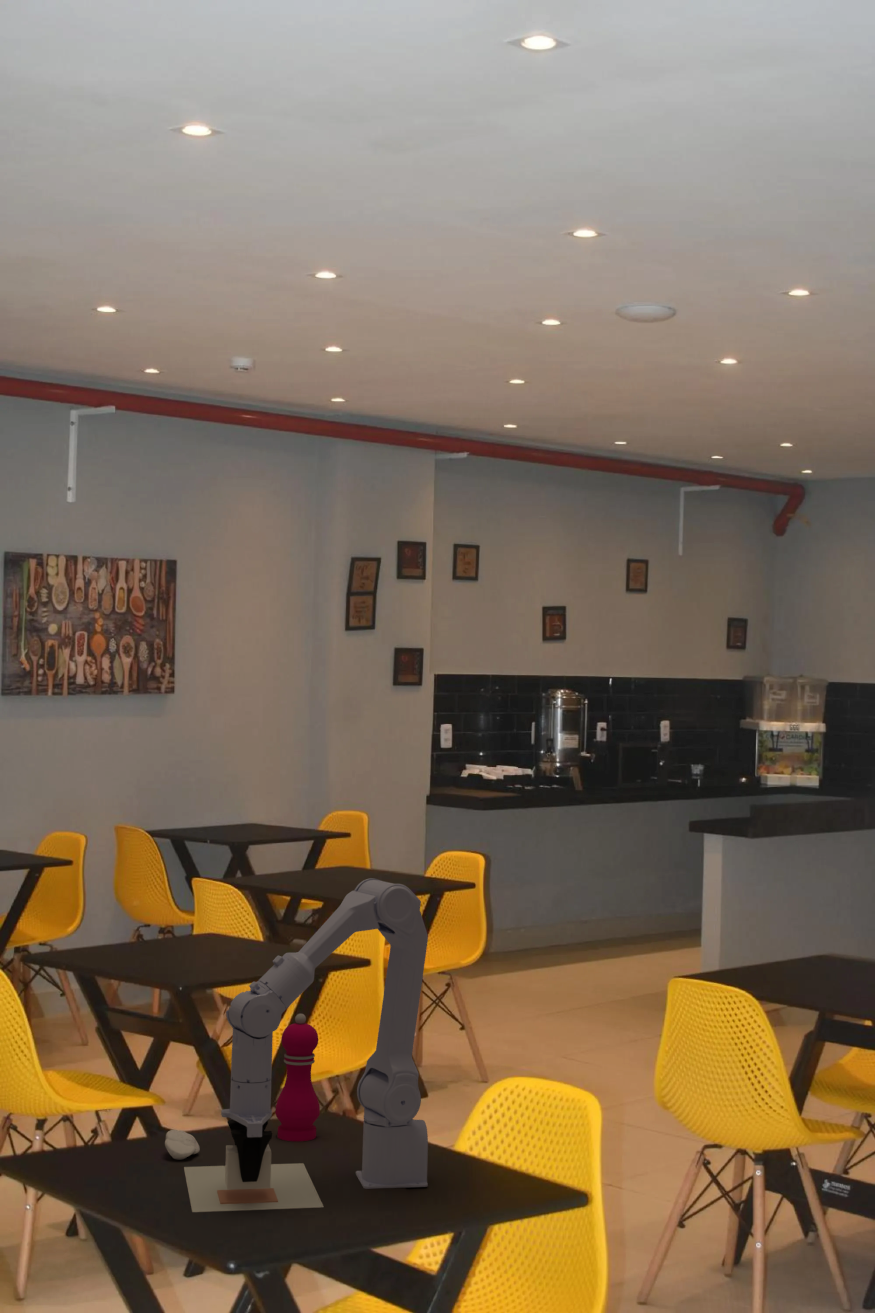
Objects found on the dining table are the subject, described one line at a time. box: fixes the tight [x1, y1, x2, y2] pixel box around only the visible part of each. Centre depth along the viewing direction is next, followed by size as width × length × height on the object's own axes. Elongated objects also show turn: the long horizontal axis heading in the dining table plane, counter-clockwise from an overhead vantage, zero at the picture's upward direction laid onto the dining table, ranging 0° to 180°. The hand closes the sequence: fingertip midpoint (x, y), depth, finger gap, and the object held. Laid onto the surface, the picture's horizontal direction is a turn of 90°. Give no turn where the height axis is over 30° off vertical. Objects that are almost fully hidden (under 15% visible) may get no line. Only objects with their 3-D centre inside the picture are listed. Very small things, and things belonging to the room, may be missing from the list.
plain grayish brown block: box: [224, 1143, 272, 1189], centre depth 217 cm, size 4×6×5 cm, turn 102°
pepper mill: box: [274, 1013, 321, 1142], centre depth 251 cm, size 7×7×20 cm
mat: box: [183, 1162, 324, 1213], centre depth 222 cm, size 18×22×1 cm
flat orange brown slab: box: [217, 1188, 278, 1204], centre depth 217 cm, size 8×6×1 cm
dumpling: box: [164, 1129, 201, 1161], centre depth 237 cm, size 7×5×4 cm
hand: (247, 1176), depth 217 cm, fingers closed on plain grayish brown block, 4 cm apart
